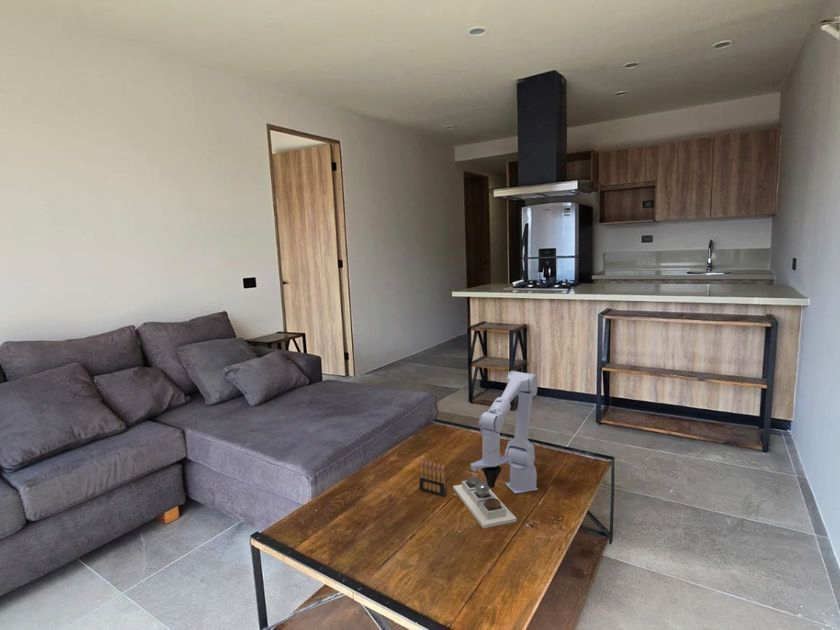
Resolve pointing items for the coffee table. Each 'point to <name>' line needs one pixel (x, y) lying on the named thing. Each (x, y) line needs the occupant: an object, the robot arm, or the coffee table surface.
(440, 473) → the ammunition clip
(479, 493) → the knob steel
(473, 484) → the knob graphite
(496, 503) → the knob walnut
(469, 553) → the coffee table surface
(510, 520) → the mount board
